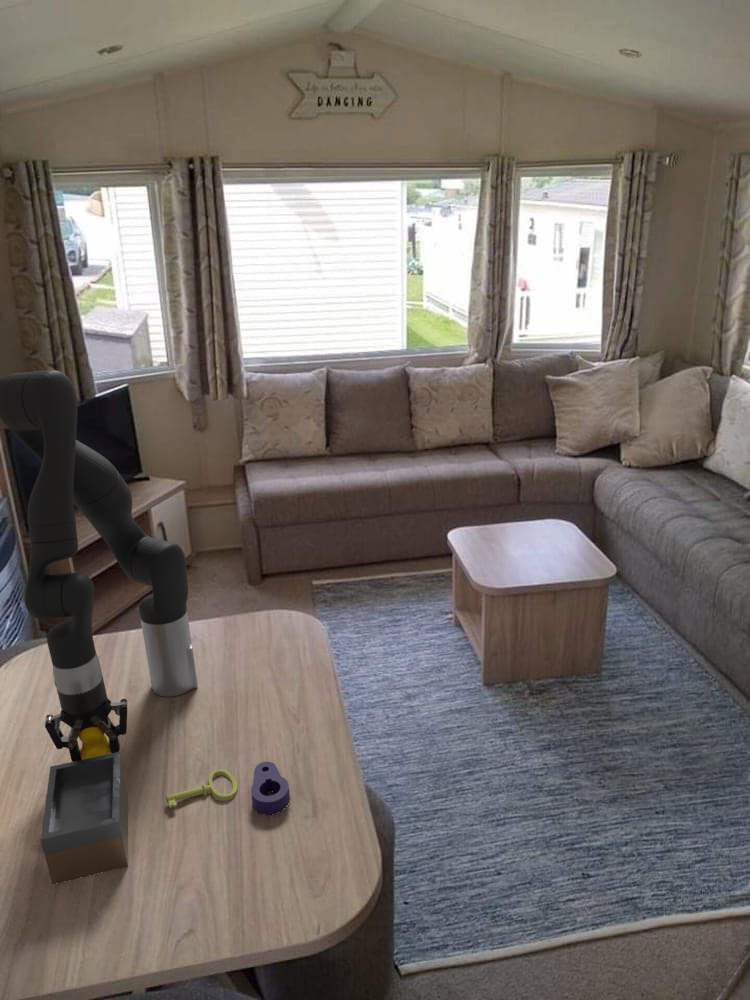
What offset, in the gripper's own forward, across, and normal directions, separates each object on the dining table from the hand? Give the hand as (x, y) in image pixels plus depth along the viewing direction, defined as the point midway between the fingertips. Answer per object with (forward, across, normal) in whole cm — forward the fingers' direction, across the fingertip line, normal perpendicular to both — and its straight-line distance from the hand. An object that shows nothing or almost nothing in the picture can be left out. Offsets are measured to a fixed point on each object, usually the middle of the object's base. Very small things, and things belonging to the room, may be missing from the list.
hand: (96, 757), depth 137 cm
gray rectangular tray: (+3, +1, +16) cm, 16 cm away
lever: (+3, -28, +15) cm, 32 cm away
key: (+4, -18, +12) cm, 22 cm away
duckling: (+2, 0, 0) cm, 2 cm away
